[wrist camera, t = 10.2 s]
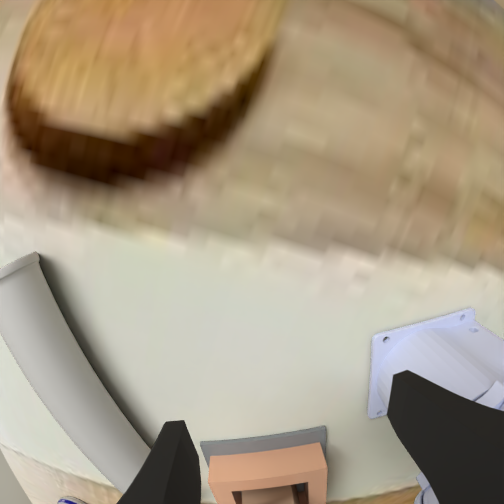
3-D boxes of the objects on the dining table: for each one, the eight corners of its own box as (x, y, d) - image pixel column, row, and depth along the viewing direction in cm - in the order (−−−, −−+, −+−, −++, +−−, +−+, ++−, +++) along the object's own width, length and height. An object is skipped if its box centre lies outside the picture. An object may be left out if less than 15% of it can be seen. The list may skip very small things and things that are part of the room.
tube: (203, 516, 20) (22, 255, 14) (152, 533, 18) (-37, 290, 13) (191, 479, 25) (47, 247, 19) (146, 495, 23) (-6, 276, 18)
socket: (324, 425, 22) (334, 454, 19) (323, 497, 25) (329, 521, 21) (200, 441, 22) (196, 471, 19) (227, 510, 24) (227, 534, 21)
